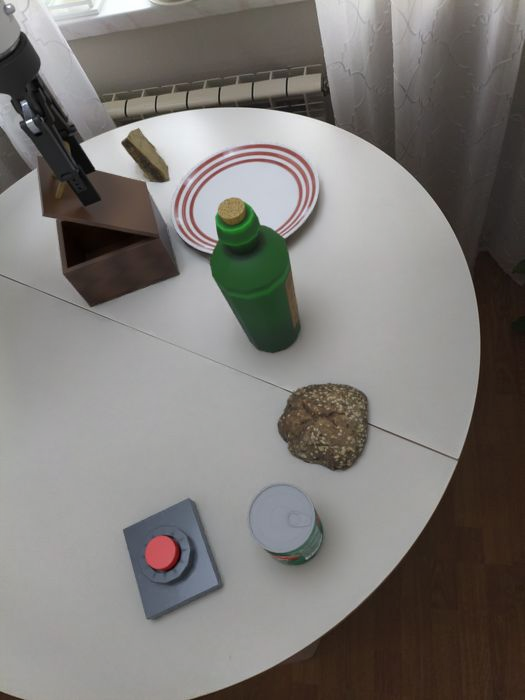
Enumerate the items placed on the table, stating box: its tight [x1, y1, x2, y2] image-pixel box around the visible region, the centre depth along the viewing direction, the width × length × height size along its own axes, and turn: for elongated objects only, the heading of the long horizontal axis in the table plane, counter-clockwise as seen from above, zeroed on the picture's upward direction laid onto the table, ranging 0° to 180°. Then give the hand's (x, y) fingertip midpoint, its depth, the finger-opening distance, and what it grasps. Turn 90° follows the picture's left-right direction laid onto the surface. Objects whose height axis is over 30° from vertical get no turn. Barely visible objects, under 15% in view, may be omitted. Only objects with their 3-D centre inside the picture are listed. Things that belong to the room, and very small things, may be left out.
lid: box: [35, 141, 160, 238], centre depth 85 cm, size 18×13×7 cm
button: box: [145, 536, 180, 571], centre depth 70 cm, size 4×4×2 cm
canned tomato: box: [246, 482, 325, 567], centre depth 68 cm, size 8×8×11 cm
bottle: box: [208, 197, 301, 353], centre depth 76 cm, size 11×11×28 cm
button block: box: [122, 497, 224, 621], centre depth 72 cm, size 12×10×4 cm
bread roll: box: [276, 382, 369, 471], centre depth 77 cm, size 13×12×5 cm
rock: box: [120, 127, 171, 183], centre depth 110 cm, size 11×9×10 cm
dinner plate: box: [170, 141, 320, 255], centre depth 101 cm, size 27×27×3 cm
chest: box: [55, 189, 180, 308], centre depth 97 cm, size 17×13×10 cm
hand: (89, 186), depth 85 cm, fingers closed on lid, 6 cm apart
